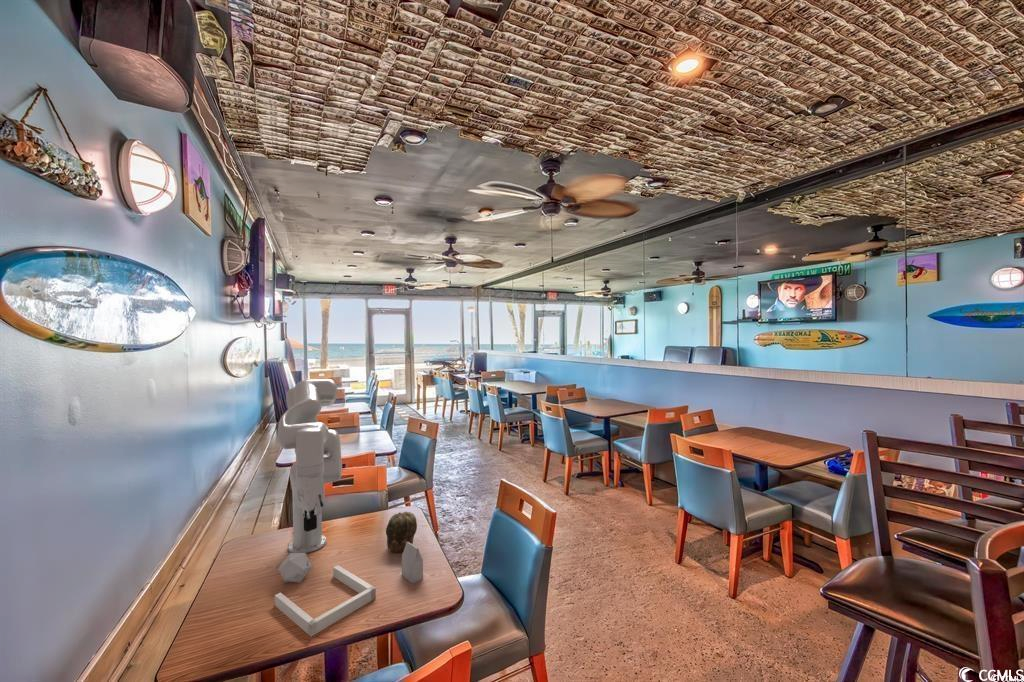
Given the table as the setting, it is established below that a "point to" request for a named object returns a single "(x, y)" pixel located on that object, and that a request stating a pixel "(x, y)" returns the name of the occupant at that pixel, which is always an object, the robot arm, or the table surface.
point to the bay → (334, 614)
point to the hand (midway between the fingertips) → (310, 529)
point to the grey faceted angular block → (412, 563)
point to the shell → (400, 531)
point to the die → (295, 567)
